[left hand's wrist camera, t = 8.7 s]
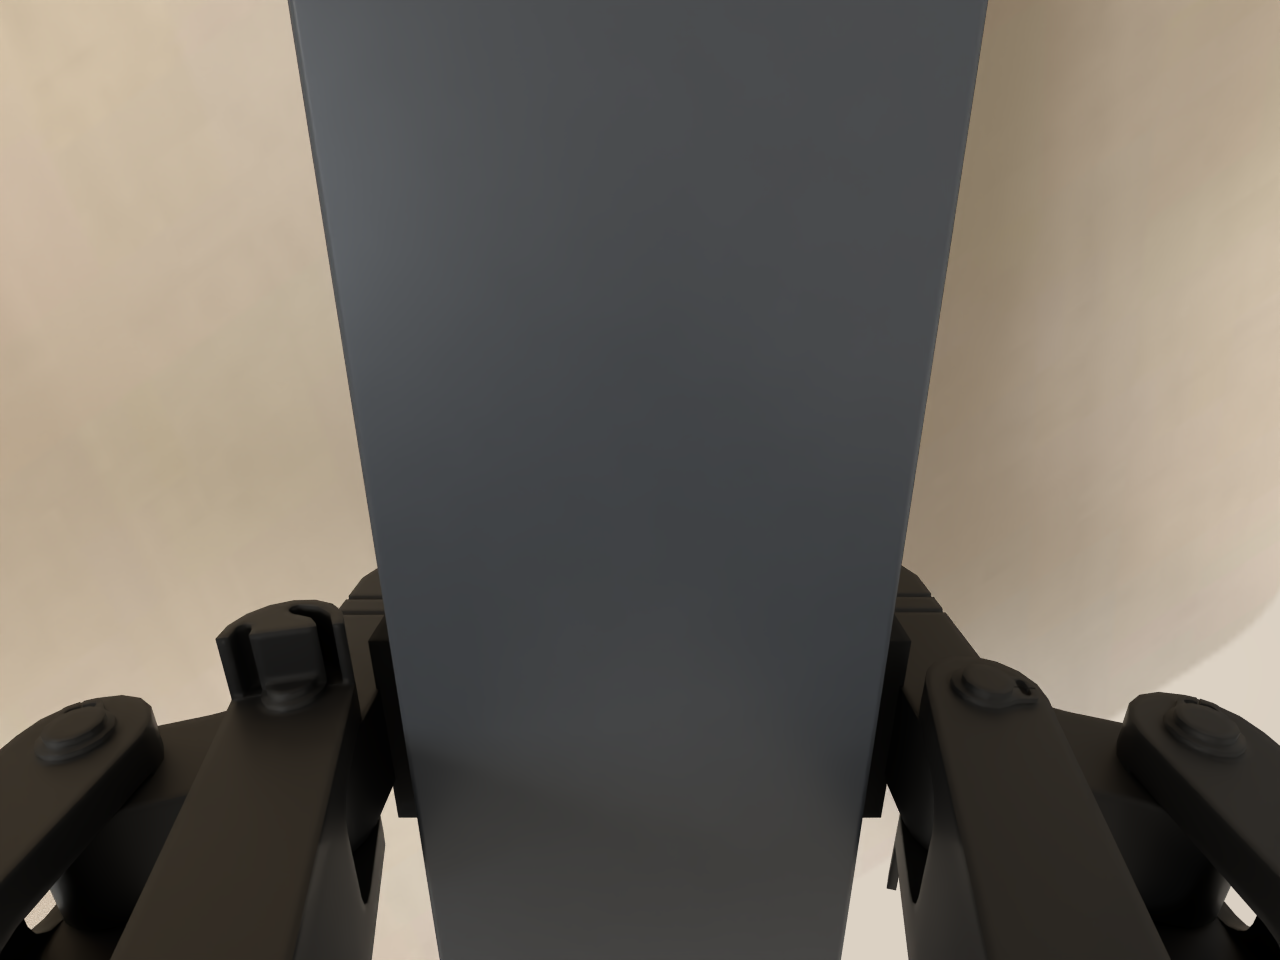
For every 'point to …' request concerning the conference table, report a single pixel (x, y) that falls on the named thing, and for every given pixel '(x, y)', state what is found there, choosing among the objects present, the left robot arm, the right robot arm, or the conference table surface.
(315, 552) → the conference table surface
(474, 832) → the post
